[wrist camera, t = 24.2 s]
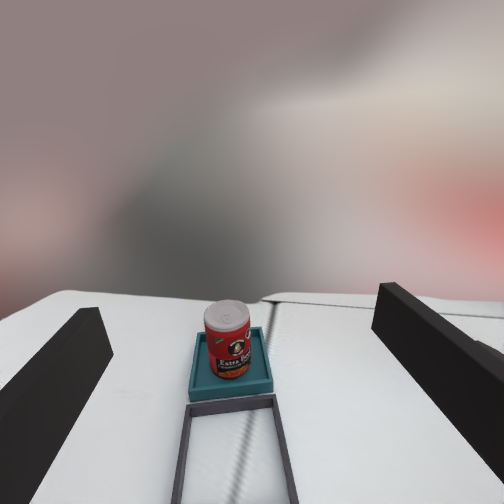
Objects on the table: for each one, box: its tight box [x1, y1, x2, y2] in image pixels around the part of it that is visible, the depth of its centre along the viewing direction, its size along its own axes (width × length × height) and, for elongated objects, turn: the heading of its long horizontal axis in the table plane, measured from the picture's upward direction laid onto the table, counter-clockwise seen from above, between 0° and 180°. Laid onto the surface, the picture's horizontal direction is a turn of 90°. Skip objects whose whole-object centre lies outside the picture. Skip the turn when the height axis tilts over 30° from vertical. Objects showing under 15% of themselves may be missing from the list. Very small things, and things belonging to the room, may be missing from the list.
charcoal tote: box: [171, 394, 299, 504], centre depth 29 cm, size 13×13×2 cm
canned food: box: [204, 300, 251, 379], centre depth 41 cm, size 8×8×11 cm
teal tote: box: [188, 327, 273, 402], centre depth 43 cm, size 13×13×2 cm
